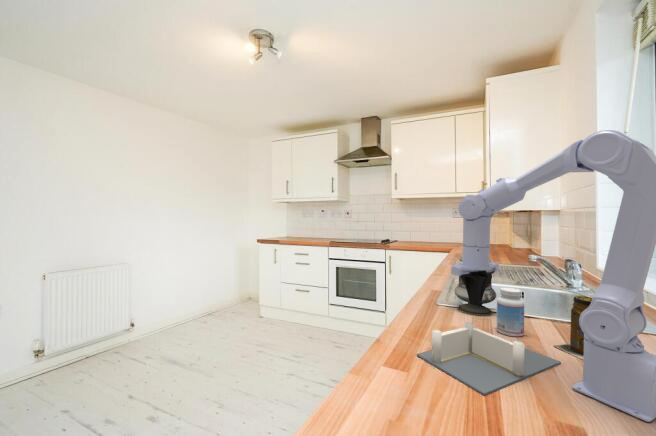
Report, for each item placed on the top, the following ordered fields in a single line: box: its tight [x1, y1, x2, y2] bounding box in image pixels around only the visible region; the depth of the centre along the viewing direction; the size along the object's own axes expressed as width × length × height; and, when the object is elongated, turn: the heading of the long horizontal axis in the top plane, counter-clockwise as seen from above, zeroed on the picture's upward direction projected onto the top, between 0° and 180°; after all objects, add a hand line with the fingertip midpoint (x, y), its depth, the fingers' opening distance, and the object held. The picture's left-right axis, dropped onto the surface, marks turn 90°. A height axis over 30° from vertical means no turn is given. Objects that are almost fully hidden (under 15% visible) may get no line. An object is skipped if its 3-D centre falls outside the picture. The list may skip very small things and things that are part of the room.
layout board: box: [416, 347, 562, 396], centre depth 61 cm, size 16×24×1 cm, turn 117°
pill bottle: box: [496, 287, 525, 337], centre depth 76 cm, size 6×6×11 cm
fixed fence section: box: [431, 321, 475, 363], centre depth 62 cm, size 12×2×6 cm, turn 117°
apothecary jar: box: [454, 253, 497, 316], centre depth 94 cm, size 12×12×18 cm
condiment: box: [552, 295, 592, 361], centre depth 65 cm, size 7×8×12 cm
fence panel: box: [472, 327, 526, 375], centre depth 58 cm, size 10×2×6 cm, turn 26°
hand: (475, 303), depth 69 cm, fingers closed
